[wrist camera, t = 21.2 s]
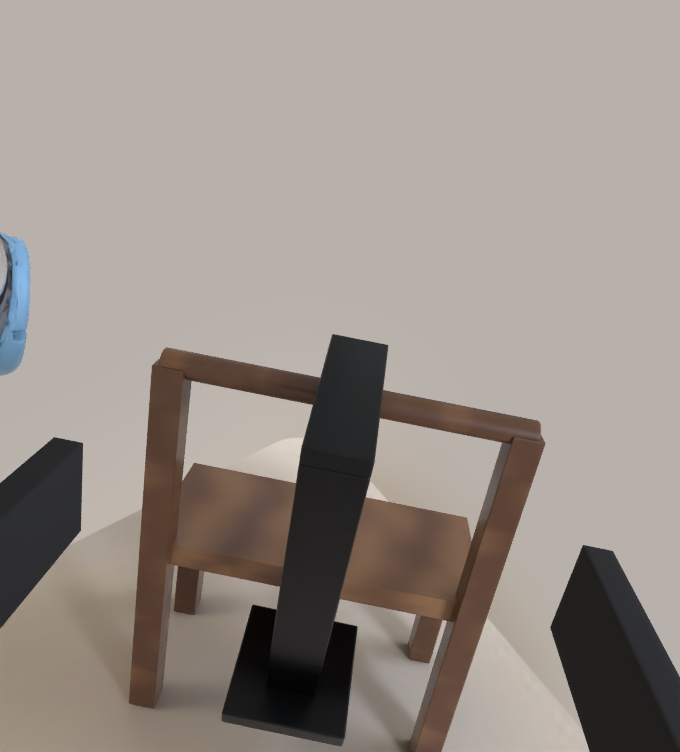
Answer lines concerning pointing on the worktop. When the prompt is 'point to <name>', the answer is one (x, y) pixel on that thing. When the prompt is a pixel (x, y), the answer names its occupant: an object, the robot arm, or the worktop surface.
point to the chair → (372, 542)
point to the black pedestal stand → (315, 563)
